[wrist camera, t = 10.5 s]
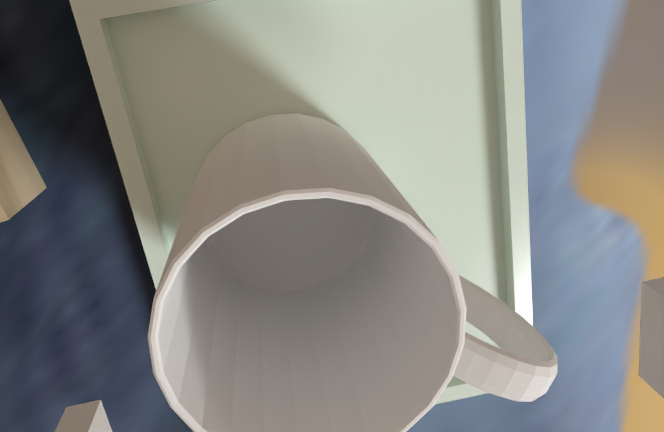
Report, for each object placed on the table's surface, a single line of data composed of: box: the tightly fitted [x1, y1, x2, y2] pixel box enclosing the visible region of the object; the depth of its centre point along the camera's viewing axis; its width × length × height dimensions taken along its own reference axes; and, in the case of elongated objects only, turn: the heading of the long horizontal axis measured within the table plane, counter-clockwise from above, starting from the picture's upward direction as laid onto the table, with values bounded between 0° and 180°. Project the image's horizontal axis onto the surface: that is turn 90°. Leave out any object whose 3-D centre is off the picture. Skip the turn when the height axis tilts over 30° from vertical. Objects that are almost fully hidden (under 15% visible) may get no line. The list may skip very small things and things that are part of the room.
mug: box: [148, 113, 557, 432], centre depth 19 cm, size 12×8×10 cm, turn 69°
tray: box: [69, 0, 533, 404], centre depth 24 cm, size 16×20×2 cm
